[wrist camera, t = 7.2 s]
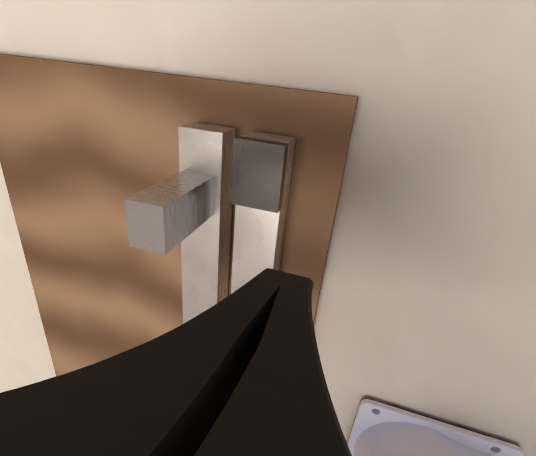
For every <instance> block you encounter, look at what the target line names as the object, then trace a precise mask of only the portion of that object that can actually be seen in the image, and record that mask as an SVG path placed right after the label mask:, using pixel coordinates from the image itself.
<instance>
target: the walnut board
mask: <svg viewBox="0 0 536 456" xmlns="http://www.w3.org/2000/svg"><path fill="white" fill-rule="evenodd" d="M357 101H358V96H350V95H342V94H333V93H325V92H316V91H308V90H300V89H291V88H283V87H274V86H266V85H258V84H249V83H241V82H232V81H224V80H216V79H207V78H199V77H190V76H182V75H174V74H165V73H157V72H148V71H140V70H132V69H123V68H115V67H106V66H98V65H89V64H81V63H73V62H64V61H56V60H47V59H39V58H31V57H22V56H14V55H5V54H0V163H1V167H2V170H3V174H4V178H5V182H6V186H7V189H8V193H9V197H10V201H11V205H12V209H13V212H14V216H15V220H16V224H17V228H18V231H19V235H20V239H21V243H22V247H23V251H24V254H25V258H26V262H27V266H28V270H29V273H30V277H31V281H32V285H33V289H34V293H35V296H36V300H37V304H38V308H39V312H40V315H41V319H42V323H43V327H44V331H45V335H46V338H47V342H48V346H49V350H50V354H51V357H52V361H53V365H54V369H55V373H56V376H59V375H63V374H66V373H69V372H72V371H74V370H77V369H80V368H83V367H86V366H89V365H92V364H94V363H97V362H100V361H102V360H105V359H107V358H110V357H112V356H114V355H117V354H119V353H122V352H124V351H127V350H129V349H132V348H134V347H137V346H139V345H141V344H144V343H146V342H148V341H150V340H152V339H155V338H157V337H159V336H161V335H163V334H165V333H167V332H169V331H171V330H173V329H175V328H176V327H178V326H180V325H182V324H183V305H182V263H181V243H179V244H178V245H177V246H176V247H175V248H173V249H172V250H171V251H170V252H169V253H168V254H166V255H162V254H158V253H154V252H150V251H146V250H142V249H138V248H134V247H131V246H129V237H128V227H127V217H126V207H125V199H126V198H128V197H130V196H132V195H134V194H136V193H138V192H140V191H142V190H144V189H146V188H148V187H150V186H152V185H154V184H156V183H159V182H161V181H163V180H165V179H167V178H169V177H171V176H173V175H175V174H177V173H179V137H178V126H181V125H185V124H189V123H193V122H198V123H205V124H211V125H218V126H224V127H231V128H236V136H240V135H242V134H245V133H247V132H249V131H257V132H264V133H271V134H277V135H284V136H290V137H296V140H295V148H294V156H293V164H292V172H291V180H290V188H289V195H288V203H287V211H286V219H285V227H284V235H283V242H282V250H281V258H280V266H279V271H283V272H287V273H291V274H295V275H299V276H303V277H307V278H311V280H312V281H313V282H314V285H313V290H312V317H313V323H314V318H315V313H316V308H317V303H318V298H319V293H320V288H321V283H322V278H323V273H324V268H325V263H326V258H327V253H328V248H329V242H330V237H331V232H332V227H333V222H334V217H335V212H336V207H337V202H338V197H339V192H340V187H341V182H342V177H343V172H344V167H345V161H346V156H347V151H348V146H349V141H350V136H351V131H352V126H353V121H354V116H355V111H356V106H357ZM236 136H235V137H236ZM235 207H236V205H235V204H232V217H231V237H230V257H229V278H228V296H229V295H230V294H231V280H232V262H233V243H234V225H235Z"/></svg>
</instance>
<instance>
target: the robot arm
mask: <svg viewBox="0 0 536 456" xmlns="http://www.w3.org/2000/svg"><path fill="white" fill-rule="evenodd" d="M313 285H314V282H313V281H312V280H311V278H307V277H303V276H299V275H295V274H291V273H287V272H283V271H279V270H275V269H270V268H267V269H265V270H263V271H262V272H260V273H259V274H258V275H256V276H255V277H254V278H252V279H251V280H250V281H248V282H247V283H246V284H244V285H243V286H242V287H240V288H239V289H237V290H236V291H235V292H233V293H232V294H230V295H229V296H227V297H226V298H224V299H223V300H221V301H220V302H218V303H217V304H215V305H214V306H212V307H211V308H209V309H207V310H206V311H204V312H202V313H201V314H199V315H197V316H196V317H194V318H192V319H191V320H189V321H187V322H186V323H184V324H182V325H180V326H178V327H176V328H175V329H173V330H171V331H169V332H167V333H165V334H163V335H161V336H159V337H157V338H155V339H152V340H150V341H148V342H146V343H144V344H141V345H139V346H137V347H134V348H132V349H129V350H127V351H124V352H122V353H119V354H117V355H114V356H112V357H110V358H107V359H105V360H102V361H100V362H97V363H94V364H92V365H89V366H86V367H83V368H80V369H77V370H74V371H72V372H69V373H66V374H63V375H59V376H56V377H53V378H50V379H47V380H44V381H41V382H37V383H34V384H31V385H27V386H24V387H21V388H17V389H13V390H10V391H6V392H2V393H0V456H524V455H523V452H522V450H521V448H520V447H519V446H516V445H514V444H511V443H508V442H504V441H501V440H498V439H495V438H492V437H488V436H485V435H482V434H479V433H476V432H472V431H469V430H466V429H463V428H460V427H456V426H453V425H450V424H447V423H444V422H441V421H437V420H434V419H431V418H428V417H425V416H421V415H418V414H415V413H412V412H409V411H405V410H402V409H399V408H396V407H393V406H389V405H386V404H383V403H380V402H377V401H374V400H370V399H363V400H362V401H361V402H360V405H359V408H358V411H357V414H356V418H355V421H354V424H353V427H352V430H351V433H350V436H349V439H348V443H347V442H346V440H345V437H344V435H343V432H342V430H341V427H340V424H339V421H338V418H337V415H336V413H335V410H334V407H333V404H332V401H331V397H330V394H329V391H328V388H327V384H326V381H325V377H324V374H323V370H322V366H321V362H320V357H319V353H318V348H317V343H316V338H315V331H314V324H313V317H312V290H313Z"/></svg>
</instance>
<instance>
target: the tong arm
mask: <svg viewBox="0 0 536 456" xmlns="http://www.w3.org/2000/svg"><path fill="white" fill-rule="evenodd" d="M235 136H236V128H231V127H224V126H218V125H211V124H205V123H198V122H193V123H189V124H185V125H181V126H178V137H179V173H177V174H175V175H173V176H171V177H169V178H167V179H165V180H163V181H161V182H159V183H156V184H154V185H152V186H150V187H148V188H146V189H144V190H142V191H140V192H138V193H136V194H134V195H132V196H130V197H128V198H126V199H125V207H126V217H127V227H128V237H129V246H131V247H134V248H138V249H142V250H146V251H150V252H154V253H158V254H162V255H166V254H168V253H169V252H170V251H171V250H172V249H173V248H175V247H176V246H177V245H178V244H179V243H181V263H182V305H183V324H184V323H186V322H187V321H189V320H191V319H192V318H194V317H196V316H197V315H199V314H201V313H202V312H204V311H206V310H207V309H209V308H211V307H212V306H214V305H215V304H217V303H218V302H220V301H221V300H223V299H224V298H226V297H227V296H228V278H229V257H230V237H231V217H232V204H230V194H231V173H232V151H233V138H234V137H235Z"/></svg>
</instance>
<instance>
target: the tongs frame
mask: <svg viewBox="0 0 536 456" xmlns="http://www.w3.org/2000/svg"><path fill="white" fill-rule="evenodd" d="M295 140H296V137H290V136H284V135H277V134H271V133H264V132H257V131H249V132H247V133H245V134H242V135H240V136H236V137H234V138H233V151H232V173H231V194H230V204H235V205H236V207H235V225H234V243H233V262H232V280H231V294H232V293H233V292H235V291H236V290H237V289H239V288H240V287H242V286H243V285H244V284H246V283H247V282H248V281H250V280H251V279H252V278H254V277H255V276H256V275H258V274H259V273H260V272H262V271H263V270H265V269H267V268H270V269H275V270H279V266H280V258H281V250H282V242H283V235H284V227H285V219H286V211H287V203H288V195H289V188H290V180H291V172H292V164H293V156H294V148H295Z"/></svg>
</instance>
